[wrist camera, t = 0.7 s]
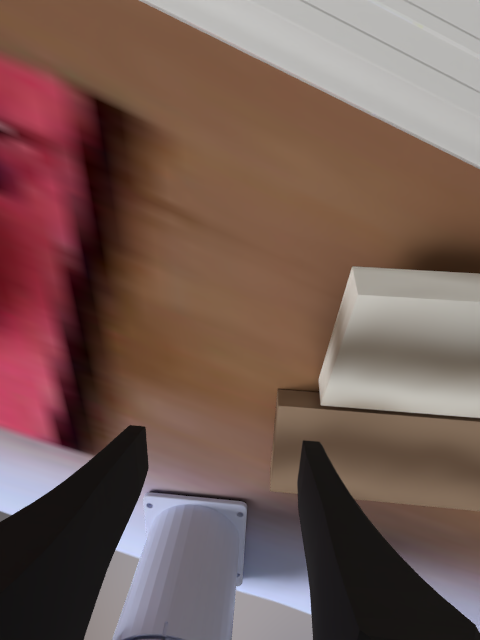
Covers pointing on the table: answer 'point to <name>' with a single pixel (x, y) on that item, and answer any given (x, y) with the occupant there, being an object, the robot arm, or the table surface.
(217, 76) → the table surface
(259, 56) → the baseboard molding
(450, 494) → the walnut floor board
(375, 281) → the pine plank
